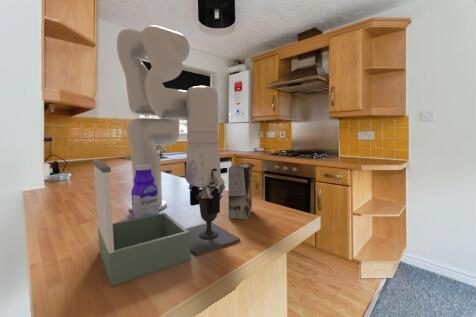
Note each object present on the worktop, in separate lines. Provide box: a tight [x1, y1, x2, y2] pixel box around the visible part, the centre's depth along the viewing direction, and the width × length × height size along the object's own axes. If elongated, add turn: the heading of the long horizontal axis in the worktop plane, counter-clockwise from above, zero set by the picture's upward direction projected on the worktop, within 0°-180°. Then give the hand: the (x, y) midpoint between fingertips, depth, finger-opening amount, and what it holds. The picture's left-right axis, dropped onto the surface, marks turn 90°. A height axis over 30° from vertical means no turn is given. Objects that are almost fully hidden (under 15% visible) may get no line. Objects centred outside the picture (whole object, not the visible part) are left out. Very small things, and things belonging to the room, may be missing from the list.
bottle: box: [130, 164, 160, 219], centre depth 70 cm, size 7×6×17 cm
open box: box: [91, 159, 192, 287], centre depth 51 cm, size 15×15×21 cm
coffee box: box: [227, 163, 253, 220], centre depth 77 cm, size 9×6×16 cm
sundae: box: [195, 188, 223, 239], centre depth 60 cm, size 7×7×15 cm
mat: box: [185, 221, 241, 257], centre depth 61 cm, size 14×12×1 cm
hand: (204, 208), depth 60 cm, fingers open, 8 cm apart
